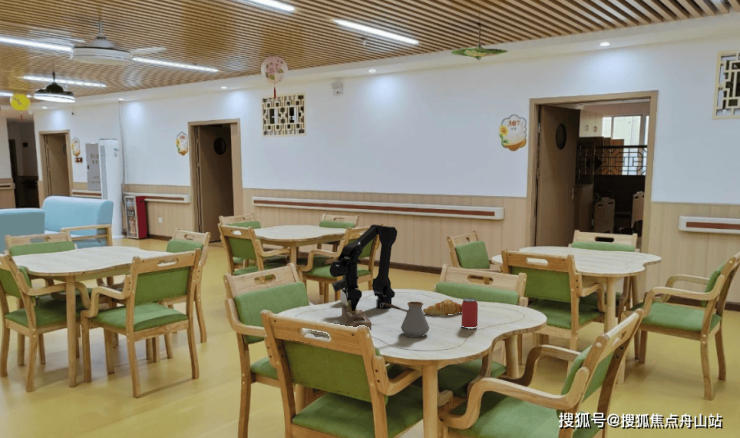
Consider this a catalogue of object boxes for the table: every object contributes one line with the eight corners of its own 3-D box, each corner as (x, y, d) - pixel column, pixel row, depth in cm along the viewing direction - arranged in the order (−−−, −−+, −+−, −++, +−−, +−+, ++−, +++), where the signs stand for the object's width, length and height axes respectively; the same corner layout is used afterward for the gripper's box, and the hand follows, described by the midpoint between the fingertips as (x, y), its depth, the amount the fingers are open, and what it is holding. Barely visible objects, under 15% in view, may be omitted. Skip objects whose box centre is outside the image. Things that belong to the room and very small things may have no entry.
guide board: (361, 316, 254) (361, 303, 253) (371, 329, 234) (371, 315, 234) (341, 317, 252) (341, 305, 251) (350, 330, 233) (350, 317, 232)
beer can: (467, 330, 232) (468, 302, 231) (458, 326, 238) (458, 298, 237) (480, 328, 235) (481, 300, 234) (470, 324, 241) (471, 297, 240)
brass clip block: (354, 310, 252) (354, 299, 251) (356, 313, 248) (356, 302, 248) (345, 311, 251) (345, 300, 251) (347, 313, 247) (347, 302, 247)
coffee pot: (420, 328, 235) (420, 293, 233) (434, 336, 225) (435, 299, 223) (374, 335, 226) (374, 299, 224) (387, 344, 216) (387, 305, 214)
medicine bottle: (359, 302, 278) (359, 279, 276) (353, 306, 271) (353, 282, 270) (346, 301, 281) (346, 277, 279) (340, 304, 274) (340, 280, 273)
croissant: (425, 323, 254) (427, 310, 250) (419, 308, 263) (421, 295, 258) (469, 320, 258) (472, 307, 254) (462, 305, 266) (465, 292, 262)
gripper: (329, 270, 255) (330, 304, 257) (336, 279, 237) (336, 315, 239) (353, 269, 257) (354, 302, 259) (362, 277, 239) (362, 313, 241)
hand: (351, 308), depth 249 cm, fingers open, 9 cm apart
